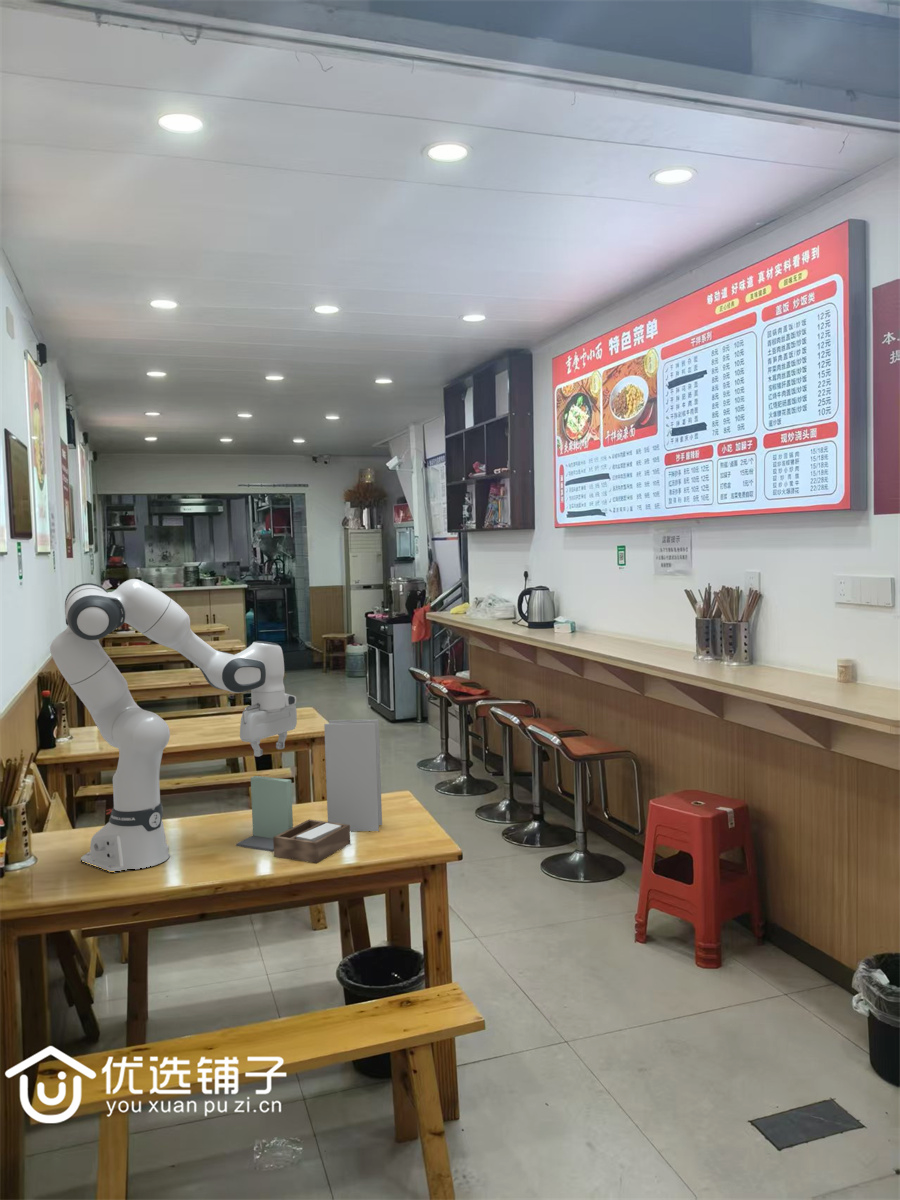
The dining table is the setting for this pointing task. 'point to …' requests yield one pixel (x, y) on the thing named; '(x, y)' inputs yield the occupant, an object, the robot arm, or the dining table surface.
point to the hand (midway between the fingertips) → (269, 752)
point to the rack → (310, 842)
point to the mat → (258, 843)
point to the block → (271, 806)
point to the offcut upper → (318, 832)
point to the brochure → (353, 773)
